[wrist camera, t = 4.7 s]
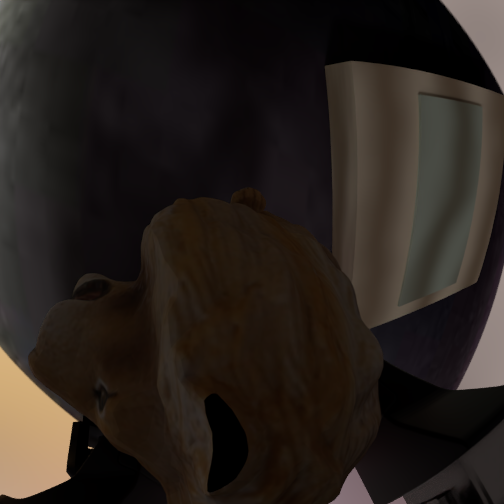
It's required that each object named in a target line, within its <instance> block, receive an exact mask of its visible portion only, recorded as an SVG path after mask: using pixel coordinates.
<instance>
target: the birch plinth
mask: <svg viewBox="0 0 504 504" xmlns="http://www.w3.org/2000/svg"><path fill="white" fill-rule="evenodd" d="M325 74H326V84H327V94H328V106H329V119H330V135H331V156H332V190H333V236H332V255H333V256H334V257H335V259H336V260H337V262H338V264H339V266H340V268H341V271H342V272H344V273H345V275H346V276H347V277H348V278H349V279H350V281H351V283H352V285H353V287H354V290H355V293H356V299H357V305H358V308H359V312H360V315H361V319H362V321H363V322H364V323H365V325H366V326H367V327H368V328H369V329H370V328H372V327H375V326H378V325H381V324H383V323H386V322H388V321H391V320H394V319H396V318H399V317H401V316H404V315H406V314H408V313H411V312H413V311H416V310H418V309H420V308H423V307H425V306H427V305H429V304H432V303H434V302H436V301H438V300H441V299H443V298H445V297H447V296H449V295H451V294H453V293H456V292H458V291H460V290H462V289H464V288H466V287H468V286H470V285H472V284H474V283H476V282H477V280H478V277H479V274H480V271H481V267H482V264H483V261H484V257H485V254H486V250H487V247H488V243H489V239H490V235H491V231H492V227H493V222H494V218H495V213H496V208H497V202H498V197H499V191H500V184H501V177H502V169H503V159H504V95H501V94H498V93H496V92H493V91H490V90H488V89H485V88H482V87H479V86H476V85H473V84H469V83H466V82H463V81H459V80H456V79H452V78H449V77H445V76H441V75H437V74H433V73H428V72H424V71H419V70H414V69H409V68H403V67H397V66H391V65H384V64H377V63H368V62H359V61H347V62H342V63H337V64H332V65H327V66H325Z"/></svg>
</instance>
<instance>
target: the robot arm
mask: <svg viewBox="0 0 504 504" xmlns="http://www.w3.org/2000/svg"><path fill="white" fill-rule="evenodd" d="M378 396H379V403H380V409H381V416H382V417H381V421H380V425H379V429H378V433H377V436H376V438H375V440H374V441H373V443H372V444H371V446H370V447H369V449H368V451H367V452H366V454H365V455H364V457H363V458H362V459H361V460H360V461H359V462H358V464H357V465H356V466H355V468H356V470H357V472H358V474H359V475H360V477H361V479H362V481H363V483H364V485H365V487H366V489H367V491H368V493H369V495H370V497H371V499H372V501H373V503H374V504H388V503H390V502H392V501H394V500H396V499H398V498H400V497H402V496H403V497H404V499H405V501H406V503H407V504H504V385H503V386H497V387H488V388H478V389H466V390H448V389H443V388H440V387H438V386H435V385H433V384H431V383H429V382H426V381H424V380H422V379H420V378H418V377H416V376H413V375H411V374H409V373H407V372H405V371H403V370H401V369H399V368H397V367H395V366H394V365H392V364H390V363H389V362H387V361H385V360H384V359H383V370H382V373H381V376H380V378H379V379H378ZM88 446H89V447H92V448H94V449H89V448H88ZM66 472H67V473H68V474H69V476H70V477H71V479H69V480H68V481H66V482H63V483H61V484H59V485H57V486H55V487H52V488H50V489H48V490H45V491H43V492H40V493H38V494H35V495H33V496H30V497H27V498H23V499H15V498H11V497H9V496H6V495H1V496H0V504H167V498H166V493H165V491H164V489H163V487H162V485H161V483H160V482H159V481H158V480H157V479H156V478H155V477H154V476H153V475H152V474H151V473H150V472H148V471H147V470H146V469H145V468H144V467H143V466H142V465H141V464H140V463H139V462H138V460H137V459H136V458H135V457H133V456H130V455H128V454H125V453H123V452H120V451H118V450H117V449H116V448H115V447H114V446H113V445H112V444H111V443H110V442H109V441H108V439H107V438H106V437H105V436H104V435H103V433H102V431H101V430H100V429H99V428H98V426H97V425H96V424H95V423H93V422H92V421H91V420H90V419H88V418H87V417H86V416H84V415H83V422H82V421H80V422H73V426H72V433H71V440H70V446H69V453H68V460H67V471H66Z"/></svg>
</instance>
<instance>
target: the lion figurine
mask: <svg viewBox="0 0 504 504" xmlns="http://www.w3.org/2000/svg"><path fill="white" fill-rule="evenodd" d="M265 206H266V200H265V199H264V197H263V196H262V194H261V193H260V192H259V191H258V190H256V189H253V188H249V187H247V188H244V189H241V190H238V191H236V192H235V193H233V195H232V198H231V203H230V204H229V203H227V202H225V201H222V200H218V199H213V198H207V197H200V198H196V199H192V200H188V199H184V198H182V199H177V200H176V201H175V202H174V204H173V205H170V206H168V207H166V208H164V209H163V210H161V211H160V212H158V213H157V214H155V215H154V217H153V219H152V220H151V224H150V225H148V226H147V227H146V228H145V230H144V233H143V238H142V242H141V270H140V274H139V277H138V278H137V280H136V281H131V282H122V281H114V280H111V279H109V278H107V277H105V276H103V275H100V274H96V273H90V274H85V275H84V276H83V277H81V278H80V279H79V280H78V282H77V284H76V286H75V289H74V291H73V294H72V297H71V300H65V301H62V302H59V303H57V304H56V305H55V306H53V307H52V308H51V309H50V310H49V312H48V314H47V315H46V317H45V319H44V321H43V323H42V326H41V328H40V332H39V335H38V339H37V344H36V347H35V348H34V349H33V350H32V351H31V352H30V354H29V356H28V359H29V366H30V369H31V371H32V373H33V374H34V376H35V377H36V378H37V379H38V380H39V381H40V382H41V383H42V384H44V385H45V386H46V387H47V388H49V389H50V390H51V391H53V392H54V393H56V394H57V395H58V396H60V397H61V398H62V399H64V400H65V401H66V402H67V403H68V404H70V405H71V406H72V407H73V408H75V409H76V410H77V411H78V412H80V413H81V414H83V415H84V416H86V417H87V418H88V419H90V420H91V421H92V422H93V423H95V424H96V425H97V426H98V428H99V429H100V430H101V431H102V433H103V435H104V436H105V437H106V438H107V439H108V441H109V442H110V443H111V444H112V445H113V446H114V447H115V448H116V449H117V450H118V451H120V452H123V453H125V454H128V455H130V456H133V457H135V458H136V459H137V460H138V462H139V463H140V464H141V465H142V466H143V467H144V468H145V469H146V470H147V471H148V472H150V473H151V474H152V475H153V476H154V477H155V478H156V479H157V480H158V481H159V482H160V483H161V485H162V487H163V489H164V491H165V493H166V498H167V504H328V503H330V502H332V501H333V500H335V499H336V497H337V496H338V495H339V494H340V491H341V488H342V486H343V484H344V482H345V480H346V478H347V476H348V474H349V473H350V472H351V471H352V469H353V468H354V467H355V466H356V465H357V464H358V462H359V461H360V460H361V459H362V458H363V457H364V455H365V454H366V452H367V451H368V449H369V447H370V446H371V444H372V443H373V441H374V440H375V438H376V436H377V433H378V429H379V425H380V421H381V417H382V416H381V409H380V403H379V396H378V379H379V378H380V376H381V373H382V370H383V352H382V350H381V347H380V345H379V343H378V341H377V339H376V338H375V336H374V335H373V333H372V332H371V331H370V330H369V328H368V327H367V326H366V325H365V323H364V322H363V321H362V319H361V315H360V312H359V308H358V305H357V299H356V293H355V290H354V287H353V285H352V283H351V281H350V279H349V278H348V277H347V276H346V275H345V273H344V272H342V271H341V268H340V266H339V264H338V262H337V260H336V259H335V257H334V256H333V255H332V254H331V252H330V251H329V250H328V249H327V248H326V247H325V246H323V245H322V244H320V243H319V242H317V240H316V239H315V238H314V236H313V235H312V234H311V233H310V232H309V231H308V230H307V229H306V228H304V227H303V226H299V225H293V224H291V223H290V222H288V221H286V220H284V219H282V218H280V217H278V216H275V215H273V214H271V213H270V212H268V211H263V210H264V209H265Z"/></svg>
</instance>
